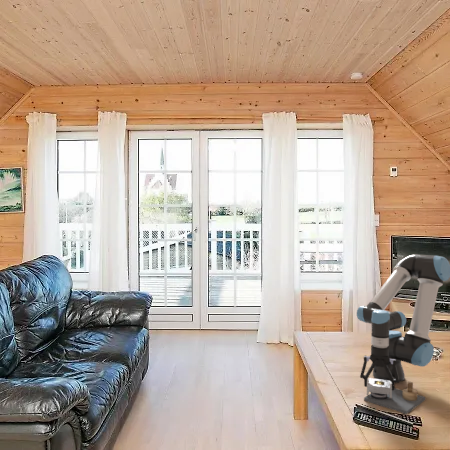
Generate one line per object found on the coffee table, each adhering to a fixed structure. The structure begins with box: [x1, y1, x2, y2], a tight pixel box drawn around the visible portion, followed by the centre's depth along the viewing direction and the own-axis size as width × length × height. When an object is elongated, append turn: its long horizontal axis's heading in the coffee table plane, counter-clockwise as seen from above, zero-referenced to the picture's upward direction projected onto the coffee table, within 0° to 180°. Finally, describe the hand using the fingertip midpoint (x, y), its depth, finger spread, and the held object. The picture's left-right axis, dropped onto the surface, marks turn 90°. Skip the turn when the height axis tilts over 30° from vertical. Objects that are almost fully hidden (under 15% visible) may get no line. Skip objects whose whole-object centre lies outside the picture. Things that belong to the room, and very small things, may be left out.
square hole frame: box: [368, 377, 390, 395], centre depth 203 cm, size 9×9×3 cm
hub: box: [370, 382, 387, 400], centre depth 203 cm, size 7×7×6 cm
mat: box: [363, 388, 426, 415], centre depth 202 cm, size 20×19×1 cm
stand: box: [402, 381, 418, 401], centre depth 201 cm, size 6×6×7 cm
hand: (379, 395), depth 203 cm, fingers closed on square hole frame, 9 cm apart
